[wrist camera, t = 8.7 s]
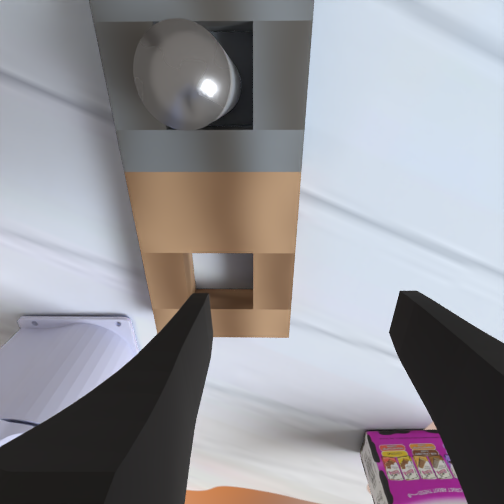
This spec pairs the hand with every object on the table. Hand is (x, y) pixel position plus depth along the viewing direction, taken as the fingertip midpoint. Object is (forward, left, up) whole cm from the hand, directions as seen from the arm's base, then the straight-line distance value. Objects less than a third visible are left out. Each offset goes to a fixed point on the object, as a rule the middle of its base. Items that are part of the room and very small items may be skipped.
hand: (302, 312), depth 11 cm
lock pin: (-4, +8, -10) cm, 14 cm away
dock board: (-4, +2, -10) cm, 11 cm away
